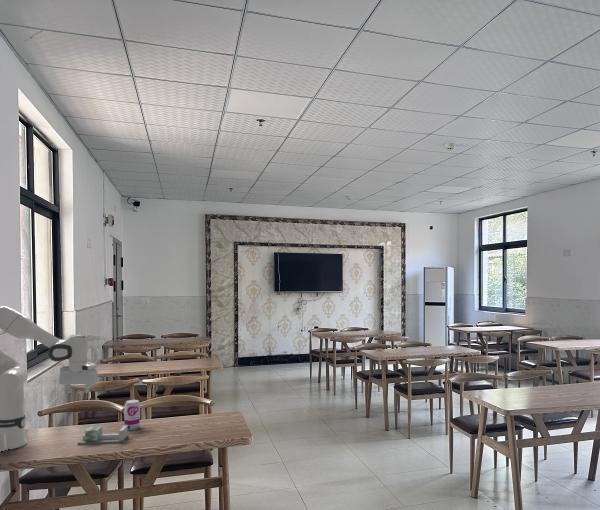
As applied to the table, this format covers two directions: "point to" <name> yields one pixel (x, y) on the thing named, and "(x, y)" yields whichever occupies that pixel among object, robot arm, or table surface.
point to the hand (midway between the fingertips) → (78, 392)
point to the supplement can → (132, 414)
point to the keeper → (93, 433)
